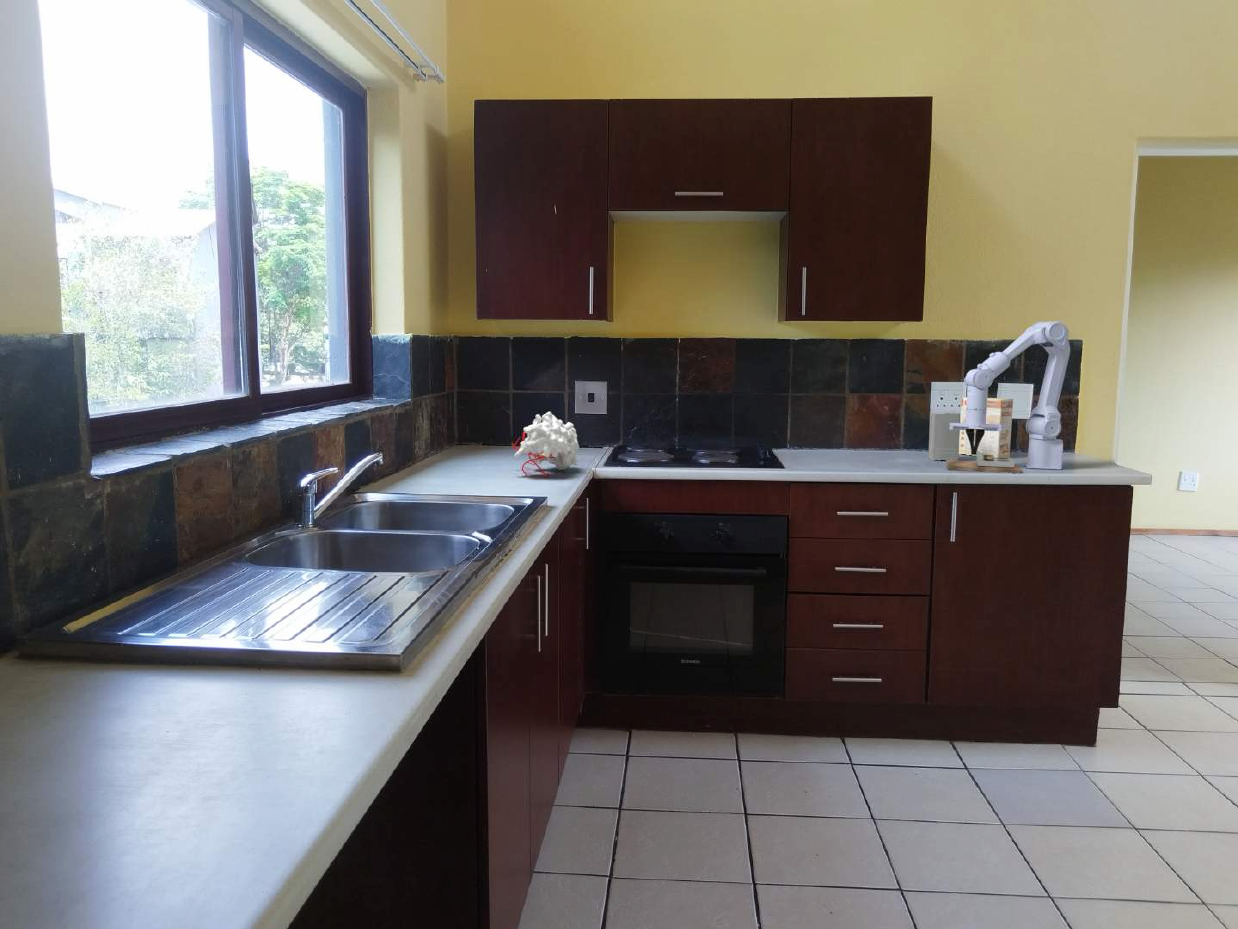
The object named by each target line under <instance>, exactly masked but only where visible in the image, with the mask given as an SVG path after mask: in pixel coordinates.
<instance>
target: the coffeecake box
mask: <svg viewBox="0 0 1238 929" xmlns="http://www.w3.org/2000/svg"><path fill="white" fill-rule="evenodd" d="M960 404H961V405H960V423H966V406H967V396H965V397H963V396H962V397H961V403H960ZM1013 407H1014V399H1013V398H1000V397H999V398H998V397H987V413H986V424H998V425H1002V431H1001V432H1000V431H985V434H984V436H983V437H982V439H981V441H980V443H979V446H978V448H981V449H982V452H983V455H993V457H1005V458H1011V456H1010V454H1011V452H1010V451H1011V436H1012V422H1013V410H1014V408H1013ZM969 428H974V429H983V428H975V427H969ZM974 431H976V430H974ZM974 445H975V437H974ZM961 454H966V455H965V456H969V455H971V446H970V442H969V439H968V436H967V434H966V430H960V432H959V455H961ZM971 457H976V455H972V456H971Z"/></svg>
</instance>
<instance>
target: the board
mask: <svg viewBox="0 0 1238 929" xmlns="http://www.w3.org/2000/svg"><path fill="white" fill-rule="evenodd" d="M983 457H984V459H986V460H991V461H992V460H993V459H994V457H993V455H983ZM945 462H946V464H947V465H946V464H945V465H946V470H947V469H952V470H951V471H960V470H975V471H974V472H980V471H991V472H990V473H1000V472H1012V473H1011V474H1021V469H1020V466H1019V465H1018V463H1017V462H1015V464H1014V467H995V466H978V465H977V462H976V460H973V461H972V460H958V461H957V460H947V461H945Z"/></svg>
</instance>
